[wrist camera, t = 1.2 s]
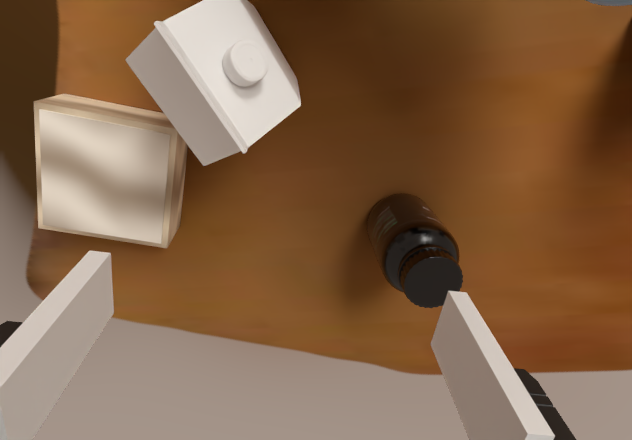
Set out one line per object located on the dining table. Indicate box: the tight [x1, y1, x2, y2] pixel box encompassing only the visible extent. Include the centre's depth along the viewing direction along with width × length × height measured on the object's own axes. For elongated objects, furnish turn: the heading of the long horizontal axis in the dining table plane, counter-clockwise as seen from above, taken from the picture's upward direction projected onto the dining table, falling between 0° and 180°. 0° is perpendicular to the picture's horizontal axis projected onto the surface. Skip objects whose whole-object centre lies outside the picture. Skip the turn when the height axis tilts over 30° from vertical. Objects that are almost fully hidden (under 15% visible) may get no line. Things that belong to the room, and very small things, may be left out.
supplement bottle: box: [367, 193, 463, 308], centre depth 40 cm, size 7×7×12 cm
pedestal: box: [34, 94, 188, 248], centre depth 39 cm, size 11×11×5 cm
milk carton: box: [125, 0, 301, 166], centre depth 29 cm, size 7×7×19 cm
